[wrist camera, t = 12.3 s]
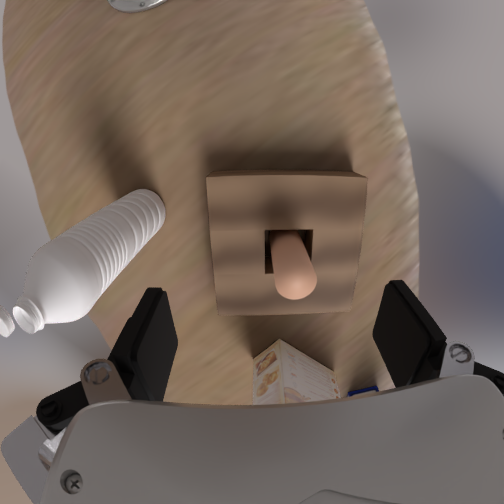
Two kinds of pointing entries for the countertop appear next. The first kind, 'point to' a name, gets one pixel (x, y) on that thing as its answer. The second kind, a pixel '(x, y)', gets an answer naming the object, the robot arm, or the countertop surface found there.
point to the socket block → (284, 218)
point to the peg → (291, 265)
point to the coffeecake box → (290, 377)
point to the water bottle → (84, 262)
